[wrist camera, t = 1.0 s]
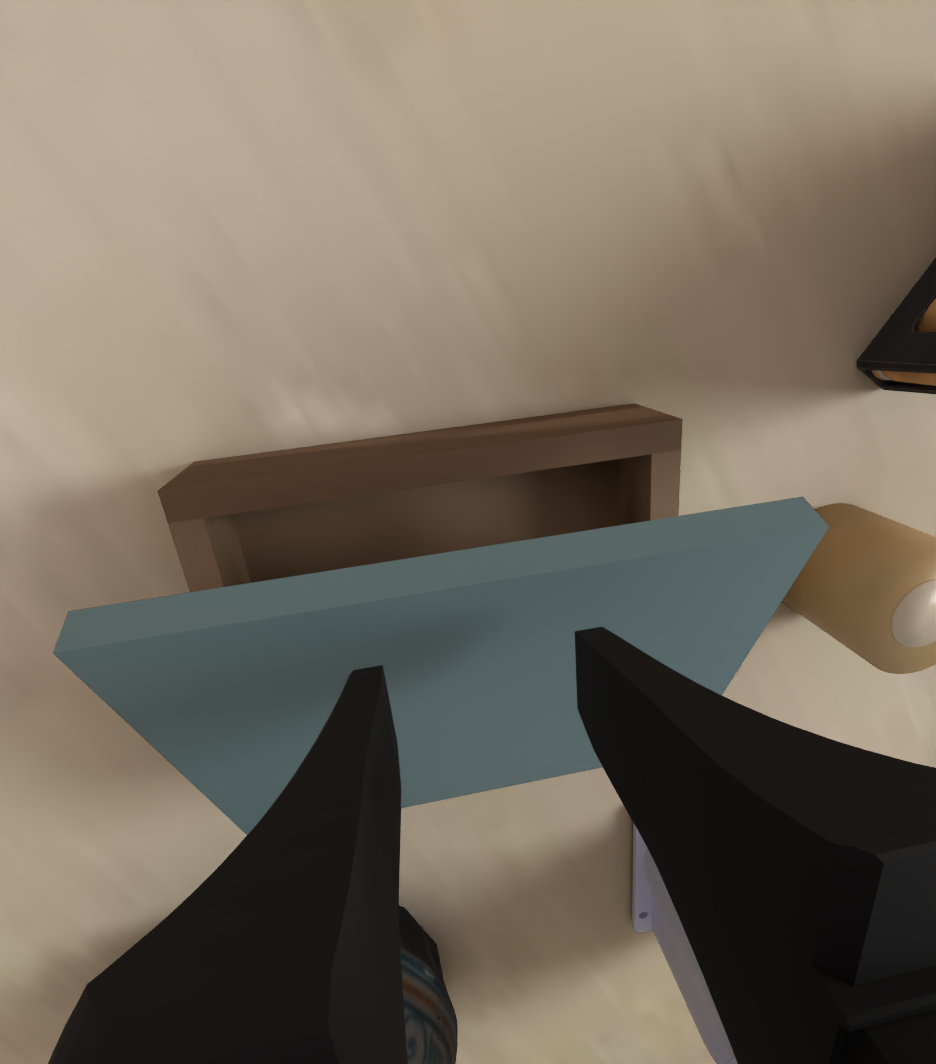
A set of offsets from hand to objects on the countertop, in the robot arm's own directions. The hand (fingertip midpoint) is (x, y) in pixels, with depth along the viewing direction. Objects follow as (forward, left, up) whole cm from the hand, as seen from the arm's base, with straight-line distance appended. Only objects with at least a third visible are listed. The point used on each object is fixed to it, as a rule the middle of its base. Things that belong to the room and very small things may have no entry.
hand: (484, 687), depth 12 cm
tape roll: (-4, -17, -10) cm, 20 cm away
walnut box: (-2, 0, -10) cm, 11 cm away
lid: (-3, 0, -4) cm, 5 cm away
